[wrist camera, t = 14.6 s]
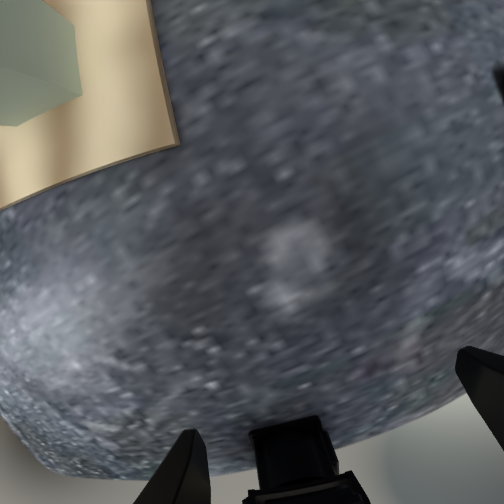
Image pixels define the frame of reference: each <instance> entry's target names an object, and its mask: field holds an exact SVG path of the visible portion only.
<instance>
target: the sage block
mask: <svg viewBox="0 0 504 504" xmlns="http://www.w3.org/2000/svg"><path fill="white" fill-rule="evenodd" d="M82 95H83V94H82V88H81V81H80V74H79V67H78V59H77V50H76V40H75V29H74V25H73V24H72V23H70V22H69V21H68V20H67V19H65V18H64V17H63V16H62V15H60V14H59V13H58V12H57V11H55V10H54V9H53V8H51V7H50V6H49V5H48V4H46V3H45V2H44V1H42V0H0V126H16V127H17V126H19V125H21V124H23V123H25V122H27V121H28V120H30V119H32V118H34V117H36V116H38V115H40V114H42V113H44V112H46V111H48V110H50V109H53V108H55V107H57V106H59V105H61V104H63V103H66V102H68V101H70V100H72V99H75V98H77V97H79V96H82Z"/></svg>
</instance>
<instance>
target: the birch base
mask: <svg viewBox="0 0 504 504" xmlns="http://www.w3.org/2000/svg"><path fill="white" fill-rule="evenodd" d="M42 1H44V2H45V3H46V4H48V5H49V6H50V7H51V8H53V9H54V10H55V11H57V12H58V13H59V14H60V15H62V16H63V17H64V18H65V19H67V20H68V21H69V22H70V23H72V24H73V25H74V29H75V40H76V50H77V59H78V67H79V74H80V81H81V88H82V94H83V95H82V96H79V97H77V98H75V99H72V100H70V101H68V102H66V103H63V104H61V105H59V106H57V107H55V108H53V109H50V110H48V111H46V112H44V113H42V114H40V115H38V116H36V117H34V118H32V119H30V120H28V121H27V122H25V123H23V124H21V125H19V126H17V127H16V126H0V210H2V209H5V208H8V207H10V206H12V205H14V204H17V203H19V202H21V201H23V200H26V199H28V198H30V197H32V196H35V195H37V194H39V193H42V192H44V191H47V190H49V189H51V188H54V187H56V186H59V185H61V184H64V183H66V182H69V181H72V180H74V179H77V178H80V177H82V176H85V175H88V174H90V173H93V172H96V171H99V170H102V169H104V168H107V167H110V166H113V165H116V164H119V163H122V162H125V161H128V160H131V159H135V158H138V157H141V156H144V155H148V154H151V153H154V152H158V151H161V150H165V149H168V148H172V147H175V146H179V145H181V144H180V139H179V135H178V131H177V126H176V122H175V117H174V113H173V109H172V104H171V99H170V95H169V90H168V86H167V81H166V76H165V71H164V67H163V62H162V57H161V52H160V47H159V42H158V36H157V31H156V26H155V21H154V15H153V10H152V4H151V0H42Z"/></svg>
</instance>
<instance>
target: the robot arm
mask: <svg viewBox="0 0 504 504" xmlns="http://www.w3.org/2000/svg"><path fill="white" fill-rule="evenodd" d="M455 371H456V374H457V376H458V377H459V379H460V381H461V383H462V385H463V387H464V388H465V390H466V392H467V394H468V396H469V398H470V399H471V401H472V403H473V404H474V406H475V408H476V409H477V411H478V412H479V414H480V415H481V416H482V418H483V420H484V421H485V423H486V424H487V426H488V427H489V429H490V430H491V432H492V433H493V435H494V436H495V438H496V439H497V441H498V443H499V444H500V446H501V447H502V449H503V451H504V356H502V355H499V354H495V353H492V352H489V351H485V350H482V349H479V348H475V347H472V346H465V347H463V348H461V349H460V350H459V351H458V353H457V359H456V365H455ZM314 421H315V422H314ZM249 439H250V441H251V444H252V446H253V449H254V451H255V458H256V466H257V473H258V480H259V487H260V490H254V489H252V490H248V497H247V498H246V499H244V500H242V503H243V504H371V503H370V501H369V499H368V497H367V495H366V493H365V492H364V490H363V488H362V487H361V485H360V484H359V482H358V480H357V479H356V477H355V476H354V474H353V472H352V471H347V472H345V473H343V474H339V462H338V459H337V456H336V453H335V451H334V448H333V445H332V443H331V440H330V437H329V434H328V432H327V431H322V428H321V421H320V418H319V417H317V416H314V417H310V418H307V419H303V420H299V421H295V422H291V423H287V424H283V425H279V426H274V427H270V428H265V429H260V430H255V431H252V432H250V433H249ZM133 504H211V487H210V478H209V469H208V461H207V452H206V446H205V443H204V441H203V439H202V438H201V436H200V434H199V432H198V430H197V429H186V430H184V431H182V433H181V434H180V436H179V437H178V439H177V440H176V442H175V443H174V445H173V446H172V448H171V449H170V451H169V452H168V454H167V455H166V457H165V458H164V460H163V461H162V463H161V464H160V466H159V467H158V469H157V470H156V472H155V473H154V474H153V476H152V477H151V479H150V480H149V482H148V483H147V485H146V486H145V488H144V489H143V491H142V492H141V493H140V495H139V496H138V498H137V499H136V500H135V502H134V503H133Z"/></svg>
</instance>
